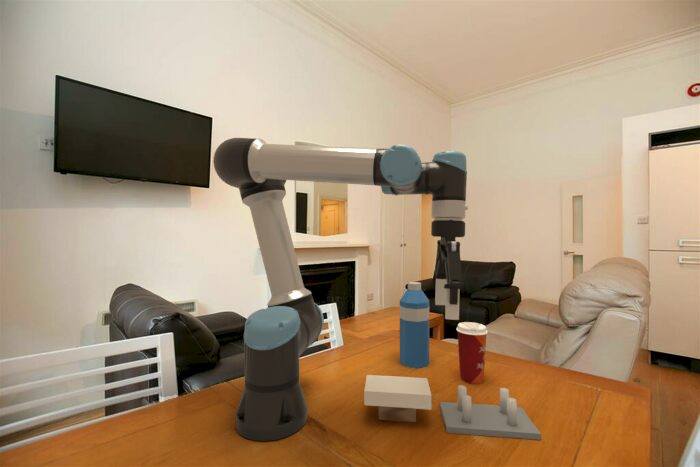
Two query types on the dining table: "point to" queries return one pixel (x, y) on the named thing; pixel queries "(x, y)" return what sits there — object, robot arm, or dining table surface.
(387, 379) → the shelf board
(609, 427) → the dining table surface
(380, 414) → the riser block
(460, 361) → the coffee cup
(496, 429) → the peg stand
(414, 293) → the water bottle
